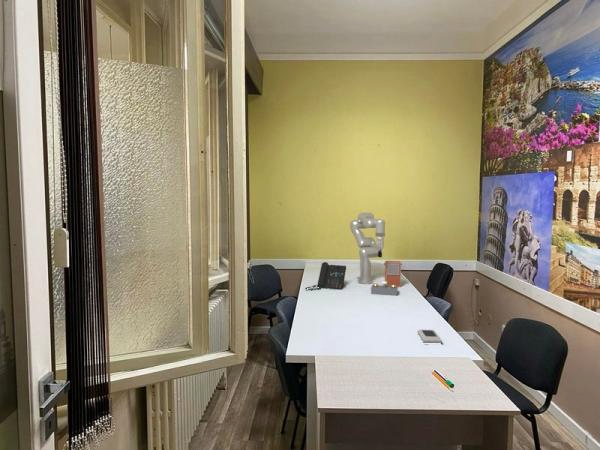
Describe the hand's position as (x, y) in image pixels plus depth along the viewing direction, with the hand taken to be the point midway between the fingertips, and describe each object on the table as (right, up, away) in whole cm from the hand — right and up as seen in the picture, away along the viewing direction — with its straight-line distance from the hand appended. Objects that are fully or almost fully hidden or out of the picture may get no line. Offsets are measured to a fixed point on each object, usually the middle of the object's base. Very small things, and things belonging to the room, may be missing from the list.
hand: (379, 257), depth 325 cm
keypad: (+6, -37, -107) cm, 113 cm away
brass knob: (+8, -26, -12) cm, 29 cm away
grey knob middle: (+2, -23, -10) cm, 25 cm away
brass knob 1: (-5, -25, -8) cm, 27 cm away
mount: (+2, -28, -10) cm, 30 cm away
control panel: (+14, -26, +13) cm, 32 cm away
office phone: (-44, -27, +10) cm, 52 cm away
